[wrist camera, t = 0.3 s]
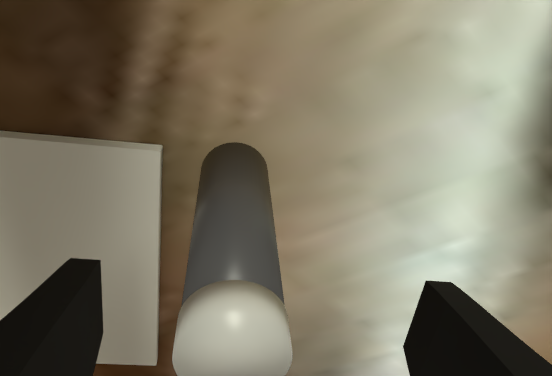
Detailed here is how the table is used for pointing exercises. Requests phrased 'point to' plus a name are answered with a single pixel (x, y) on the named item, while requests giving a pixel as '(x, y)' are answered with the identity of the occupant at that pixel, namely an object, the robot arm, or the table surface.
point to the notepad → (85, 229)
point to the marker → (233, 274)
